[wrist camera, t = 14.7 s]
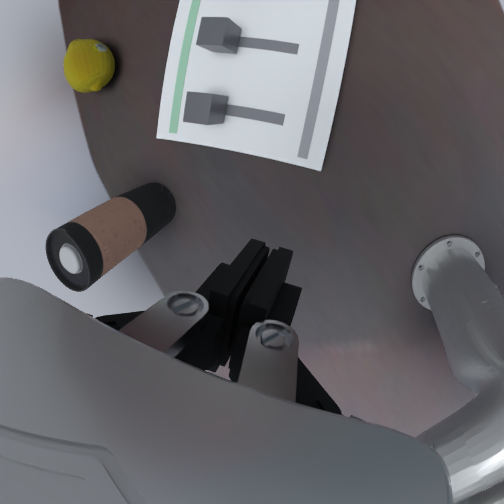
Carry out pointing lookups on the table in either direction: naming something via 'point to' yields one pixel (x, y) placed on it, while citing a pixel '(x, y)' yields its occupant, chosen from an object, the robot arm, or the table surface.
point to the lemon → (88, 65)
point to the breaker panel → (261, 76)
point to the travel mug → (107, 234)
